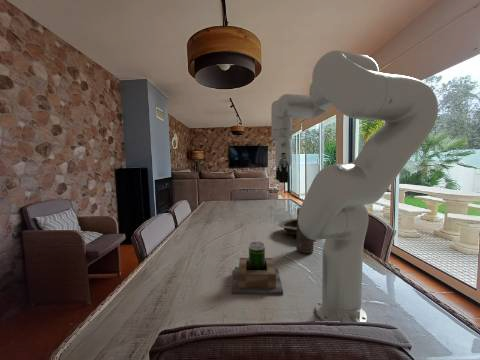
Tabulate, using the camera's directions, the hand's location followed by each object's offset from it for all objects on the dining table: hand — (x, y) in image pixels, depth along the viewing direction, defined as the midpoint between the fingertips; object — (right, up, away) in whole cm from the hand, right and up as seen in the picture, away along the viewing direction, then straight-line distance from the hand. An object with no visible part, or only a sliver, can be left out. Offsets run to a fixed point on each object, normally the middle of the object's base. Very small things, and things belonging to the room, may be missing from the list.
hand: (281, 181), depth 87 cm
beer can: (-10, -34, -7) cm, 36 cm away
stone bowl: (+17, -30, +39) cm, 52 cm away
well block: (-10, -34, -7) cm, 36 cm away
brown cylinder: (+13, -32, +16) cm, 38 cm away
